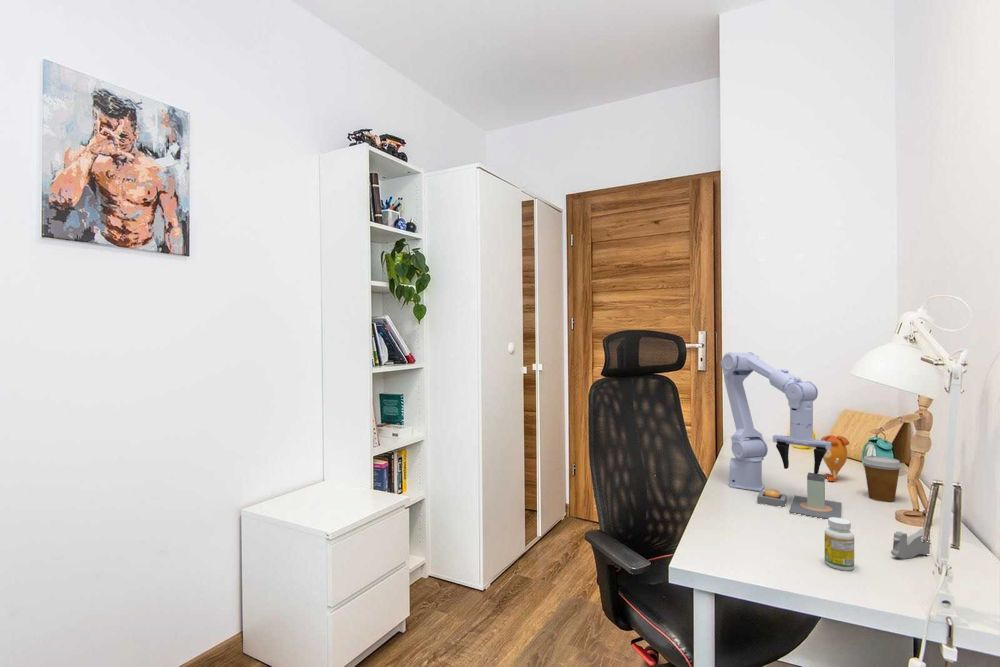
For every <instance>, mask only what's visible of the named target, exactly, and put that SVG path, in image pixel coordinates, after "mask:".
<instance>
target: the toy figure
mask: <svg viewBox="0 0 1000 667" xmlns="http://www.w3.org/2000/svg"><path fill="white" fill-rule="evenodd" d="M820 440H821V441H827V442H831V449H830V450H827V451H826V453H825V455H824V457H823V459H822V461H824V463H825V465H826V467H827V468H828V470H829V471H830V472H829V473H824V474H823V475H825V477H828V478H826V481H827V480H828V481H827V482H829V481H836V480H837V481H838V478H837V475H838V473H839V472H840V470H842V468H843V467H844V466H845V464H846V462H847V458H848V449H847V446H849V445H850V441H849V440H848V439H847V438H846V437H844V436H841V435H836V436H835V435H832V434H831V435H825V436H822V437H821V439H820ZM837 481H836V482H837Z"/></svg>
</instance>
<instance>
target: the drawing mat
mask: <svg viewBox="0 0 1000 667" xmlns="http://www.w3.org/2000/svg"><path fill="white" fill-rule="evenodd" d="M789 512H790V513H789ZM788 513H789V514H791V513H796V514H801V515H800V516H802V515H806V516H805V517H808V516H812V517H811V518H814V517H817V518H816V519H820V518H822V519H821V520H825V519H828V518H830V517H836V518H842V501H841V502H840V501H834V500H827V499H825V508H824V510H821V509H815V508H810V507H807V496H801V495H795V494H794V497H793V499H792V501H791V504H790V507H789V510H788ZM796 514H795V515H796Z"/></svg>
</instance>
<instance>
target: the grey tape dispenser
mask: <svg viewBox="0 0 1000 667" xmlns="http://www.w3.org/2000/svg"><path fill="white" fill-rule="evenodd" d="M923 529H924V528H919V530H918V531H916V532H915V533H912V534H910V535H908V534H907V532H903V531H895V532H894V533H893V539H892V540H893V543H892V544H893V546H892V549H891V550H890V553H891V555H892V556H895V557H897V558H899V559H902V560H905V559H906V558H909V559H911V558H915V557H916V556H918V555H923V554H924V556H925V555H927V554H930V553H931V552H930V551H931V550H930V549H931V546H930V545H931V542H930V541H931V539H930V538H931V531H930V532H929V541H928V542H925V543H923V542H922V541H921V537H922V531H923ZM927 556H928V555H927ZM910 557H911V558H910ZM906 560H907V559H906Z"/></svg>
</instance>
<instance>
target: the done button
mask: <svg viewBox="0 0 1000 667" xmlns="http://www.w3.org/2000/svg"><path fill="white" fill-rule="evenodd" d="M764 491H765V497H771V498H777V499H780V494H781V492H780V491H779V490H777V489H773V488H766V489H764Z"/></svg>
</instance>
